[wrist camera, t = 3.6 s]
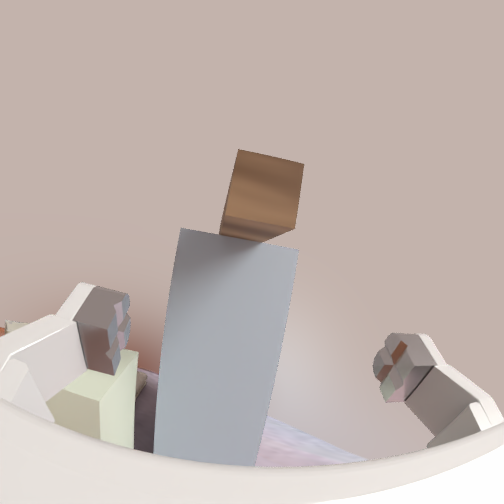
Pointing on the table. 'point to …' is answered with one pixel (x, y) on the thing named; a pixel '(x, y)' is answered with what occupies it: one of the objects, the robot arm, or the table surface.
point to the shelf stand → (221, 346)
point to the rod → (261, 197)
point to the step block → (100, 403)
